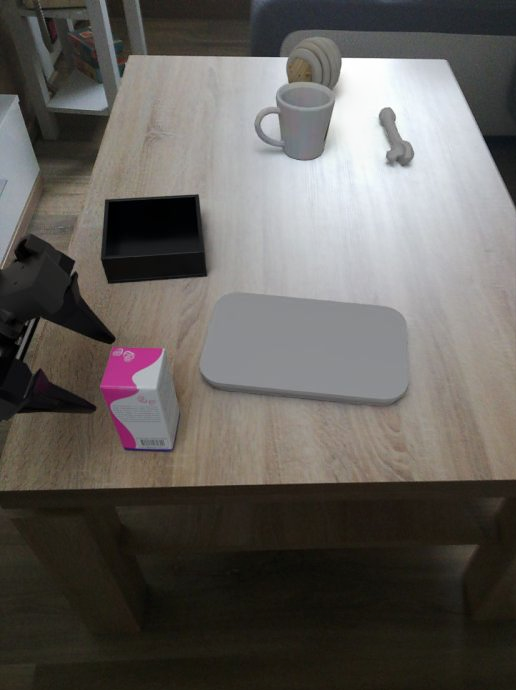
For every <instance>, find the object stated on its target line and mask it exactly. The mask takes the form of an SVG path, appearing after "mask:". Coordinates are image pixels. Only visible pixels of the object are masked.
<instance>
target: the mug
mask: <svg viewBox="0 0 516 690" xmlns="http://www.w3.org/2000/svg"><path fill="white" fill-rule="evenodd" d="M275 92H276V93H275V102H276V106H267V107H265V108H263V109H260V111H259V112H258V113H257V114H256V117H255V119H254V122H253V125H254V130H255V133H256V135H257V137H258V138H259V139H260V140H261V141H263V142H264V143H265V144H267V145H270V146H273V147H278V148H282V150H283V151H284V153H285V155H287V156H288V157H290V158H292V159H295V160H299V161H310V160H314V159H317V158H318V157H320V156H321V155H322V154H323V152H324V150H325V145H326V142H327V137H328V133H329V130H330V129H329V128H330V125H331V122H332V121H331V120H332V116H333V111H334V107H335V104H336V94H335V93H334V90H333V91H332V90H330V89H329V88H328V87H326V86H323V85H321V84H317V83H312V82H294V83H290V84H289V83H286V84H284V85H283V86H282V85H281V86H280V87H279V88H278V89H277V90H276V91H275ZM272 114H273V115H277V116H278V123H279V132H280V139H281V140H278V139H274V138H271V136H268V135H267V134H266V133H265V132H264V131H263V128H262V125H261V123H262V121H263V119H264V118H265V117H266V116H268V115H272Z"/></svg>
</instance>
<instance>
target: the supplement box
mask: <svg viewBox="0 0 516 690" xmlns="http://www.w3.org/2000/svg"><path fill="white" fill-rule="evenodd" d="M174 385H175V384H174V381H173V377H172V372H171V368H170V364H169V359H168V355H167V350H166V348H161V347H160V348H159V347H157V348H156V347H130V346H129V347H128V346H127V347H125V346H112V348H111V351H110V354H109V358H108V361H107V364H106V367H105V371H104V373H103V376H102V378H101V382H100V386H99V389H100V391H101V394H102V396H103V399H104V401H105V404H106V406H107V409H108V411H109V414H110V417H111V419H112V422H113V424H114V427H115V430H116V432H117V434H118V438H119V440H120V443H121V445H122V447H123V450H125V451H140V452H141V451H142V452H144V451H145V452H170V453H172V452H173V451H174V448H175V442H176V437H177V432H178V426H179V422H180V417H181V411H180V410H181V409H180V407H179V403H178V399H177V394H176V390H175V386H174Z"/></svg>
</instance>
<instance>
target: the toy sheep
mask: <svg viewBox="0 0 516 690" xmlns="http://www.w3.org/2000/svg"><path fill="white" fill-rule="evenodd" d="M342 58H343V57H342V53H341V51H340V49H339V47H338V45H337V43H335V42H334V41H333V40H332V39H330V38H328V37H326V36H325V37H324V36H312V37H307V38H304V39H302V40H301V41H300V42H298V43H297V45H295V46H294V47H293V48H292V49H291V51H290V53H289V56H288V57H287V60H286V66H285V72H286V77H287V84H290V83H294V82H312V83H317V84H321V85H323V86H326V87H328V88H329V89H330V90H332V91H333V92H334V88H335V86H336V85H337V84H338V82H339V80H340V75H341V70H342V64H343V61H342V60H343V59H342Z"/></svg>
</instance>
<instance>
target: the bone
mask: <svg viewBox="0 0 516 690" xmlns="http://www.w3.org/2000/svg"><path fill="white" fill-rule="evenodd" d="M378 119H379V124H380V125H382V126H383V127H384V131H385V132H386V137H387V138H388V140H389V142H390V144H391V147H390V149H389V150H387V151H386V154H385V158H386V160H387V161H388V162H390V163H391V162H394V161H396V162H398V164H400V165H401V166H407V165H408V164H410V163H411V162H412V160H413V159H414V157H415V151H414V147H413V145H412V143H411V142H410V141H408V140H404V139H403V138H402V136H401V135H400V132H399V131H398V128H397V125H396V120H397V116H396V112H395V111H394V110H393V109H392V108H391V107H390V106H388V107H387V106H386V107H383V108H381V110H380V111H379V113H378Z"/></svg>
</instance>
